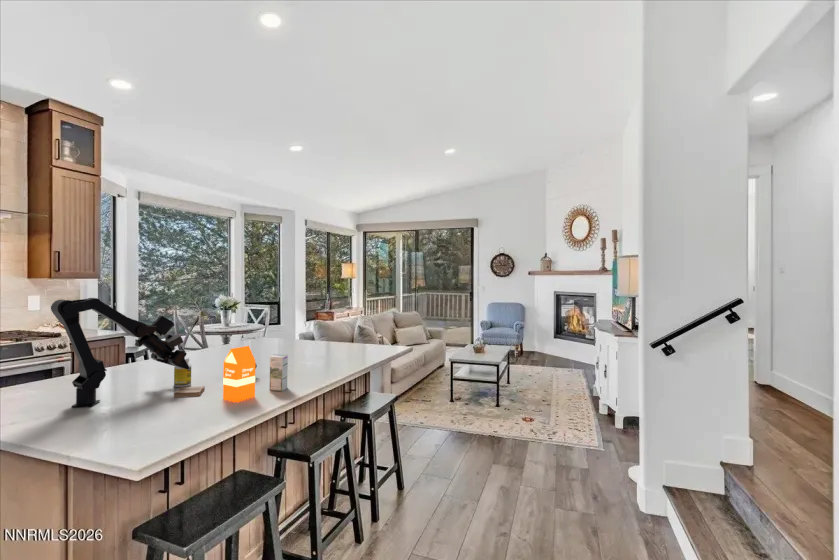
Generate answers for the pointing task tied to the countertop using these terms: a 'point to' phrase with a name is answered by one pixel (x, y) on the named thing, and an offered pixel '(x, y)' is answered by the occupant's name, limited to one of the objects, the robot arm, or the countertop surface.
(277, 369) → the syrup box
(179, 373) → the pill bottle
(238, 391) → the orange juice
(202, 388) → the base tile
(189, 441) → the countertop surface
